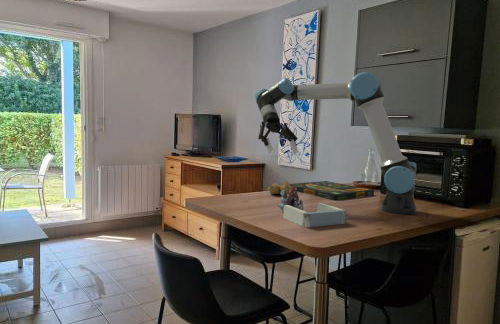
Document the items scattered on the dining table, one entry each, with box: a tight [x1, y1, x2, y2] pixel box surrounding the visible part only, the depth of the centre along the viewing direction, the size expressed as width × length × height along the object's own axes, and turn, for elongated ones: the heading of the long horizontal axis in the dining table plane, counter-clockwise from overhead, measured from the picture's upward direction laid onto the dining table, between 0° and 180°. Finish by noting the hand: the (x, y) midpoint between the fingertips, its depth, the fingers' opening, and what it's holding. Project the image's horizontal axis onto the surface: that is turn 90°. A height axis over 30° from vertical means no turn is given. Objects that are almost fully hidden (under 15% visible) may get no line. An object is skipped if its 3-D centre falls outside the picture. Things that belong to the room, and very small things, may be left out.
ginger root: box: [267, 180, 292, 195], centre depth 201 cm, size 16×16×8 cm
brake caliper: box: [277, 186, 305, 212], centre depth 161 cm, size 11×11×12 cm
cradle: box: [282, 202, 347, 228], centre depth 147 cm, size 15×19×5 cm
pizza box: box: [289, 180, 375, 201], centre depth 216 cm, size 35×35×4 cm
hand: (283, 151), depth 169 cm, fingers open, 13 cm apart
